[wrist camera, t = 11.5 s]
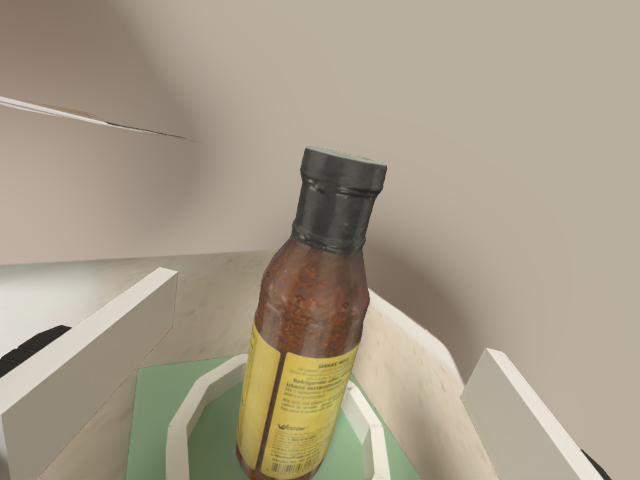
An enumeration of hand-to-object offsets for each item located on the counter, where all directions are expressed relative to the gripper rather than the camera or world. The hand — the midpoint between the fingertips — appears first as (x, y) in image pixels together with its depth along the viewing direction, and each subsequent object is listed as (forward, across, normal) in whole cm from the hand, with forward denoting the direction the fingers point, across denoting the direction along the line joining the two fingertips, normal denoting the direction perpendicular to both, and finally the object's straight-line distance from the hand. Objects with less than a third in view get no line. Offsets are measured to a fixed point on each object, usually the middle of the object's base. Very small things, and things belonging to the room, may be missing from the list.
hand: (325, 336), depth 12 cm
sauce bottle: (+4, 0, -13) cm, 13 cm away
